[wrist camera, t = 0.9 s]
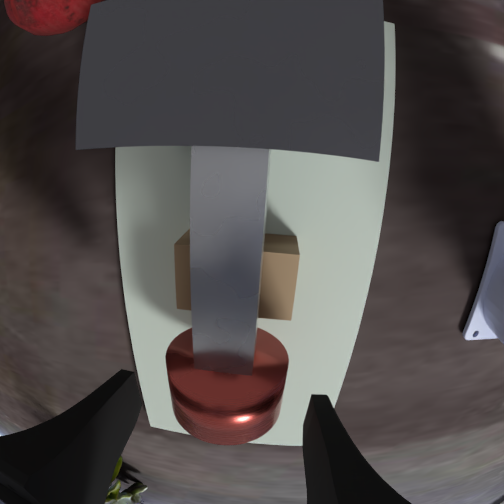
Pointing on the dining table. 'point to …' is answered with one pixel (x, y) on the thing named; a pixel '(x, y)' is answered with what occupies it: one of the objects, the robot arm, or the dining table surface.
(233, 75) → the block
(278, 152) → the board
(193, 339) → the rod
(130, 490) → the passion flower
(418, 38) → the dining table surface
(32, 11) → the red kuri squash
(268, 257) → the brown rectangular block
